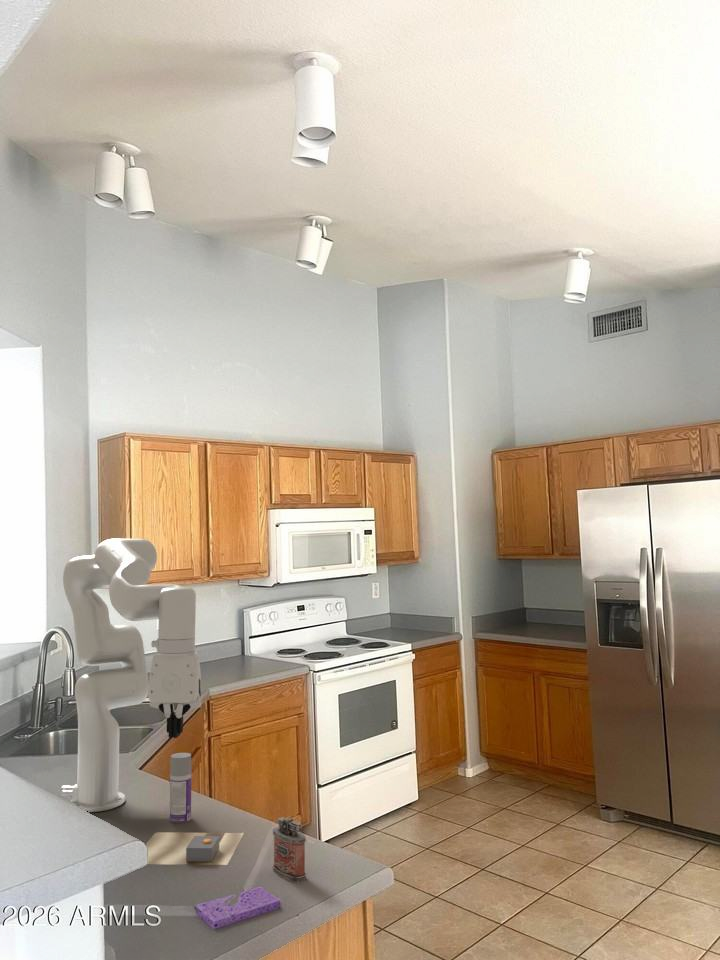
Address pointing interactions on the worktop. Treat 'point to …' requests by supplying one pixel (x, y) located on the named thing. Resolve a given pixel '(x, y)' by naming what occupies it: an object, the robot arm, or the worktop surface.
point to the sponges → (237, 907)
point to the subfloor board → (173, 847)
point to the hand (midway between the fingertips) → (174, 736)
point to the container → (180, 788)
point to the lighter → (289, 850)
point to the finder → (202, 849)
